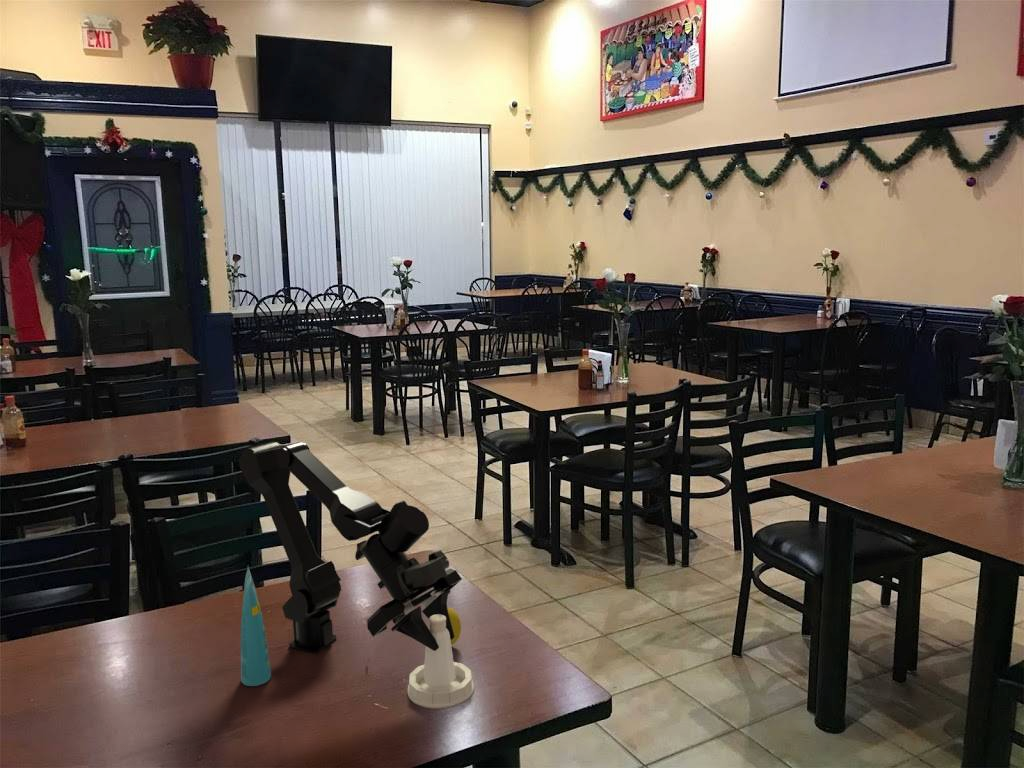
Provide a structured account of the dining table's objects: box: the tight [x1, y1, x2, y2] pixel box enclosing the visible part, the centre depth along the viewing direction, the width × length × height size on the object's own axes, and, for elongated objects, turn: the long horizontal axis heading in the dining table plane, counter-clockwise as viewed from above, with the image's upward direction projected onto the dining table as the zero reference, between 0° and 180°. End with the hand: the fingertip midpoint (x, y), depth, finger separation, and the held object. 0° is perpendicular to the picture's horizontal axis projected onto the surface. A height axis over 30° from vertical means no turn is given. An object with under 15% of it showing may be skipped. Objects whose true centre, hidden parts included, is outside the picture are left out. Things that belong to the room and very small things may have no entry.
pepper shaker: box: [423, 614, 456, 687], centre depth 133 cm, size 5×5×11 cm
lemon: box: [447, 606, 462, 646], centre depth 148 cm, size 6×6×8 cm
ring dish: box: [407, 661, 475, 710], centre depth 134 cm, size 11×11×2 cm
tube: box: [240, 565, 272, 687], centre depth 137 cm, size 7×5×19 cm, turn 26°
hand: (444, 644), depth 132 cm, fingers closed on pepper shaker, 4 cm apart
